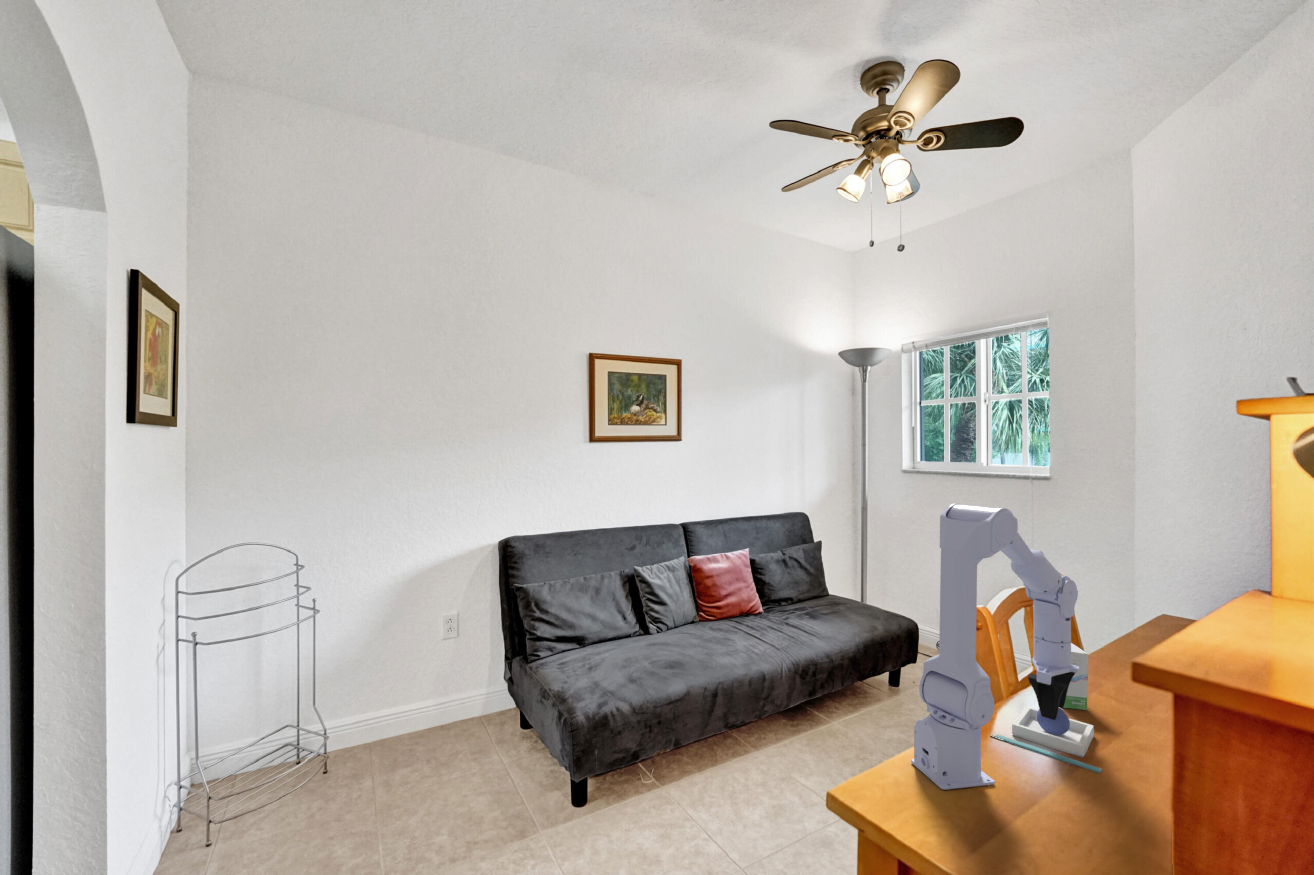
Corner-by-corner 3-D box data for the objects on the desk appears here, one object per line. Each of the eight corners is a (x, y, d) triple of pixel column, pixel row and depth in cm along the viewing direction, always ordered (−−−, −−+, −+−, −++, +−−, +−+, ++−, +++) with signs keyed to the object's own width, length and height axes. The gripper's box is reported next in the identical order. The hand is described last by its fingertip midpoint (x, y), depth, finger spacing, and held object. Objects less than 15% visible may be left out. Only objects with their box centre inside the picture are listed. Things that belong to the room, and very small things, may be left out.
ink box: (1041, 691, 122) (1041, 637, 122) (1067, 693, 121) (1067, 638, 121) (1061, 708, 113) (1061, 650, 113) (1090, 711, 112) (1089, 652, 112)
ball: (1053, 741, 99) (1053, 714, 99) (1030, 728, 104) (1030, 701, 104) (1077, 739, 100) (1076, 711, 100) (1052, 725, 105) (1052, 699, 105)
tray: (1083, 758, 95) (1083, 746, 95) (1012, 735, 102) (1012, 724, 102) (1093, 736, 102) (1093, 725, 102) (1026, 716, 110) (1026, 706, 110)
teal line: (990, 736, 102) (990, 734, 102) (992, 734, 102) (992, 732, 102) (1100, 773, 90) (1100, 771, 90) (1101, 770, 91) (1101, 768, 91)
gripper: (1070, 653, 95) (1071, 733, 94) (1085, 634, 105) (1086, 706, 104) (1022, 643, 100) (1023, 718, 99) (1041, 625, 110) (1042, 694, 109)
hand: (1052, 711), depth 102 cm, fingers open, 6 cm apart
